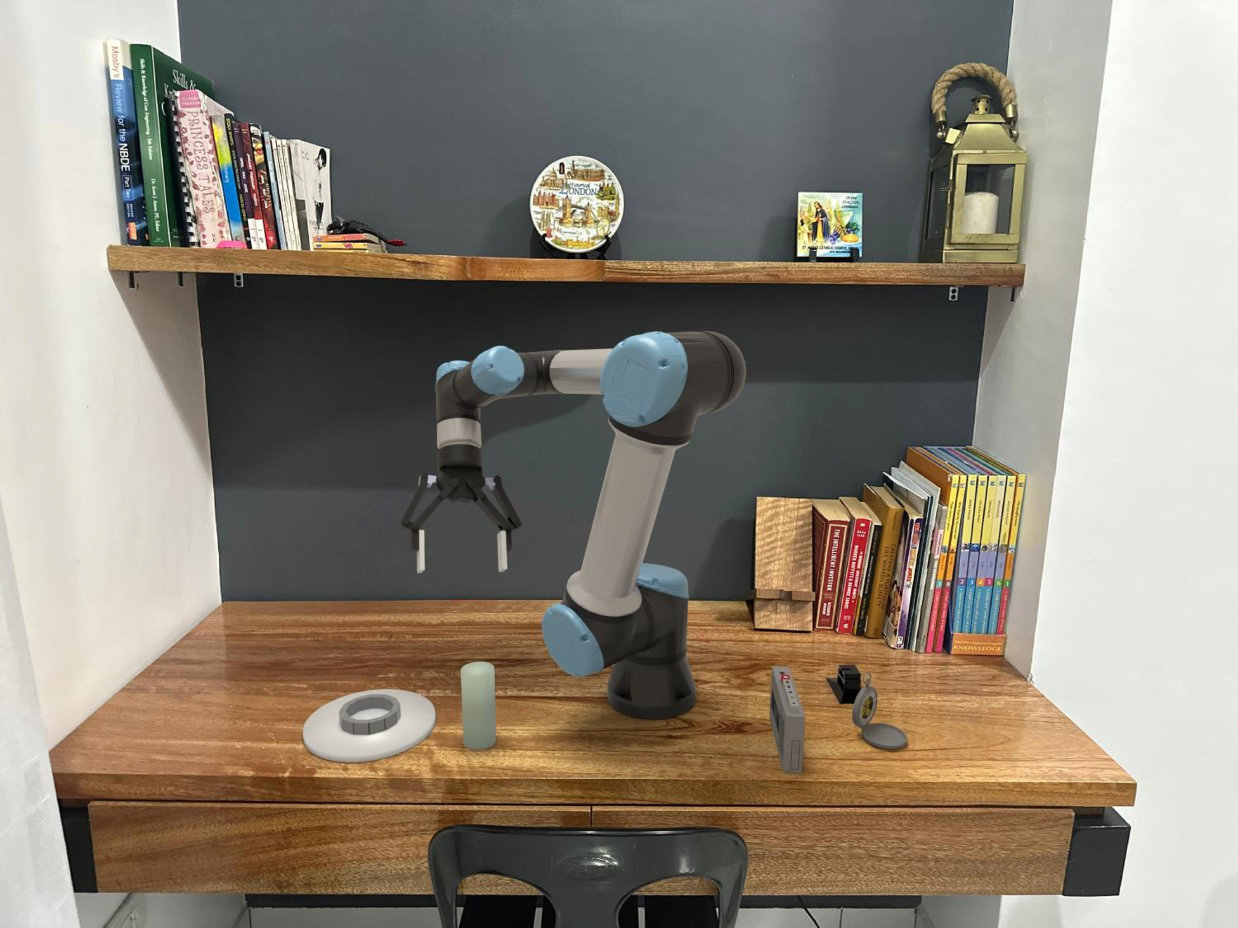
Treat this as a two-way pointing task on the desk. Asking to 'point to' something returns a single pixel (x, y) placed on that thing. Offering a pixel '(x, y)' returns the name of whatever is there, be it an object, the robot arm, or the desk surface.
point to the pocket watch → (875, 732)
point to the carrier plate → (372, 744)
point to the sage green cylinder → (478, 705)
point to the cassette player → (787, 720)
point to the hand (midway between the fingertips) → (462, 571)
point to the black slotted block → (846, 684)
